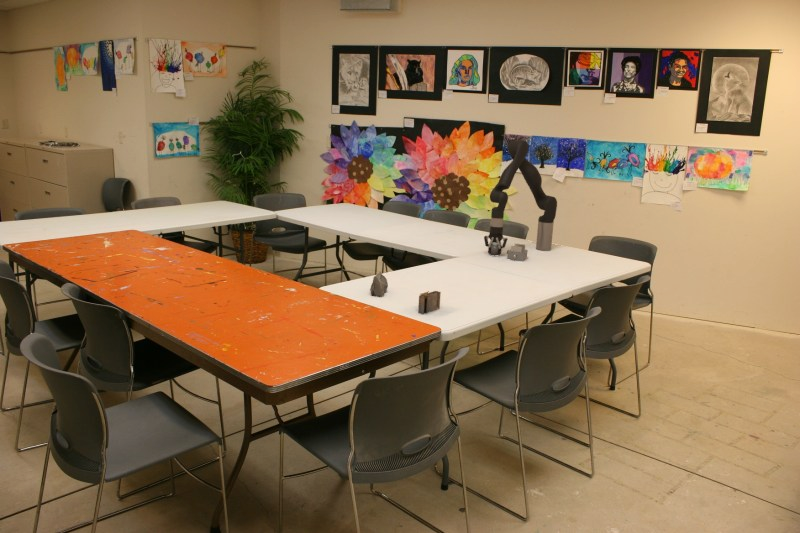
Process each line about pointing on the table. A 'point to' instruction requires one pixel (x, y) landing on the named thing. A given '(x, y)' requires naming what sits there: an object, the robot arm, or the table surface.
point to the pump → (494, 249)
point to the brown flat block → (429, 302)
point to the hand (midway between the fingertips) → (494, 254)
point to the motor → (517, 252)
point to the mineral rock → (379, 285)
